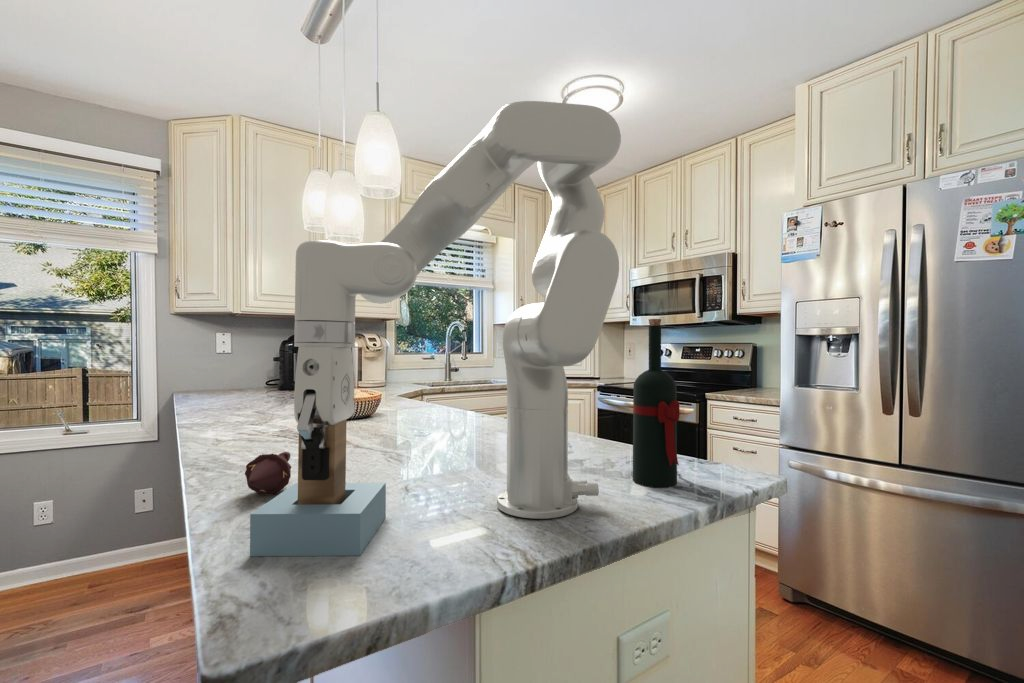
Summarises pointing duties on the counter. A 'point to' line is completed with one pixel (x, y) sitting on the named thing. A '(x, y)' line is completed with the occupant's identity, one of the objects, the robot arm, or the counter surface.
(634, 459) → the wine bottle
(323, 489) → the walnut peg
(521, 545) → the counter surface
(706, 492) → the counter surface
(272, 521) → the socket block
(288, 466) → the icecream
